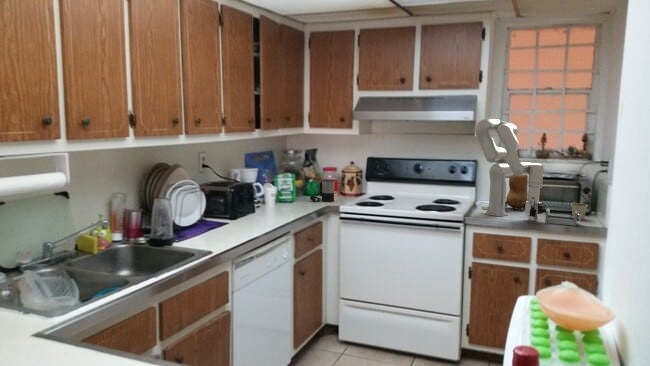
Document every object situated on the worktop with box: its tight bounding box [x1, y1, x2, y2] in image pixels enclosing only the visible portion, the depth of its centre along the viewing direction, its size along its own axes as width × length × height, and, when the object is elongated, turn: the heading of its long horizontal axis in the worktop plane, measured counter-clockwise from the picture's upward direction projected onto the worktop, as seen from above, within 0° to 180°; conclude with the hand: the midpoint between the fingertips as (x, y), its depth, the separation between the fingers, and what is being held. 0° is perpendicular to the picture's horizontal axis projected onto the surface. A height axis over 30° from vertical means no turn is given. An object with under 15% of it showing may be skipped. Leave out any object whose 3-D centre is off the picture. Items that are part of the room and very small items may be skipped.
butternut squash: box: [505, 174, 529, 210], centre depth 336 cm, size 14×13×25 cm
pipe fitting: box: [544, 207, 582, 227], centre depth 294 cm, size 18×10×7 cm, turn 61°
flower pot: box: [570, 202, 589, 220], centre depth 308 cm, size 9×9×9 cm
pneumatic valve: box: [522, 200, 546, 222], centre depth 300 cm, size 6×12×12 cm, turn 40°
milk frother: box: [309, 178, 336, 203], centre depth 356 cm, size 14×16×15 cm
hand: (533, 215), depth 300 cm, fingers closed on pneumatic valve, 6 cm apart
